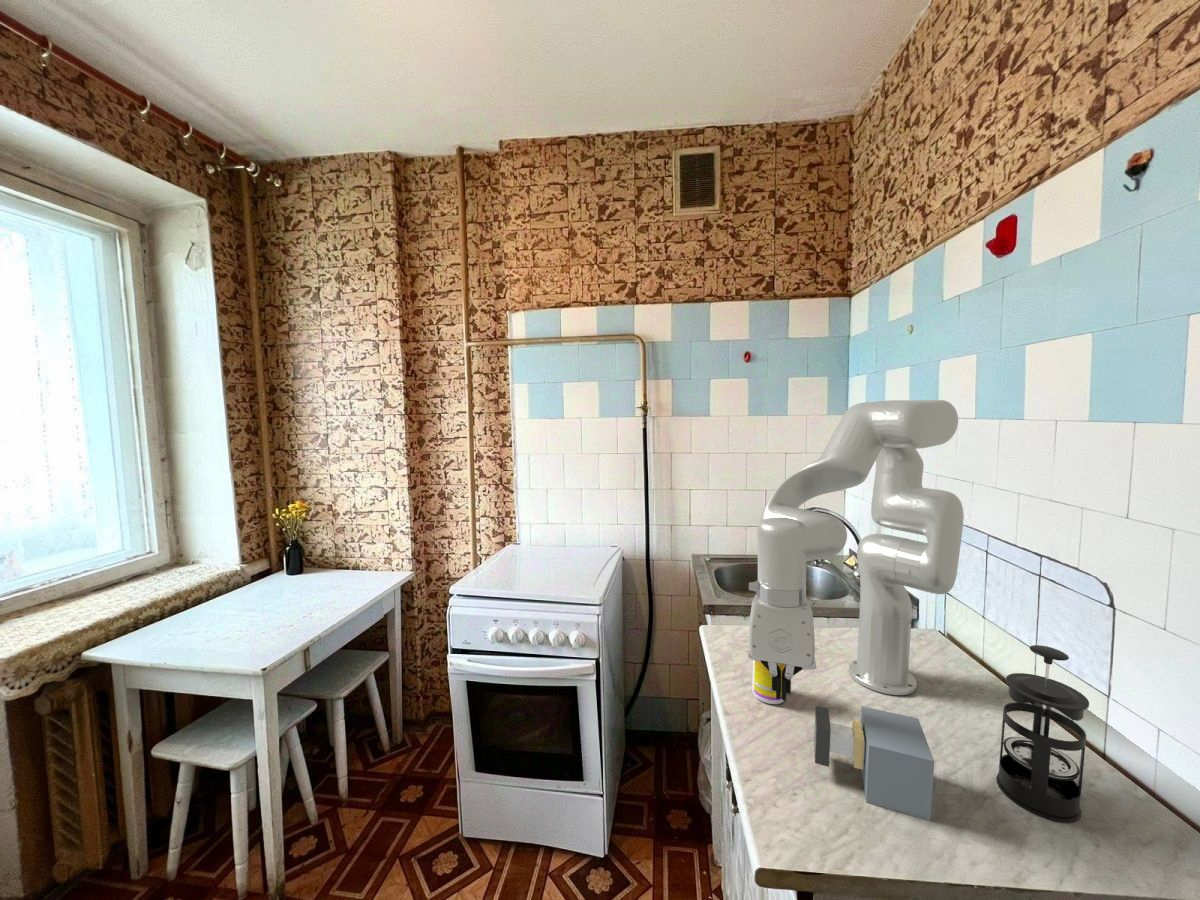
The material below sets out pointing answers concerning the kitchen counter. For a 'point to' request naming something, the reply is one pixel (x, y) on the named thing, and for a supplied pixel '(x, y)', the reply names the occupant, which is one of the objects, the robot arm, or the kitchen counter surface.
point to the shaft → (837, 739)
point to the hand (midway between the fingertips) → (781, 695)
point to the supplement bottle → (764, 684)
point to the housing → (897, 763)
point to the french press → (1043, 744)
